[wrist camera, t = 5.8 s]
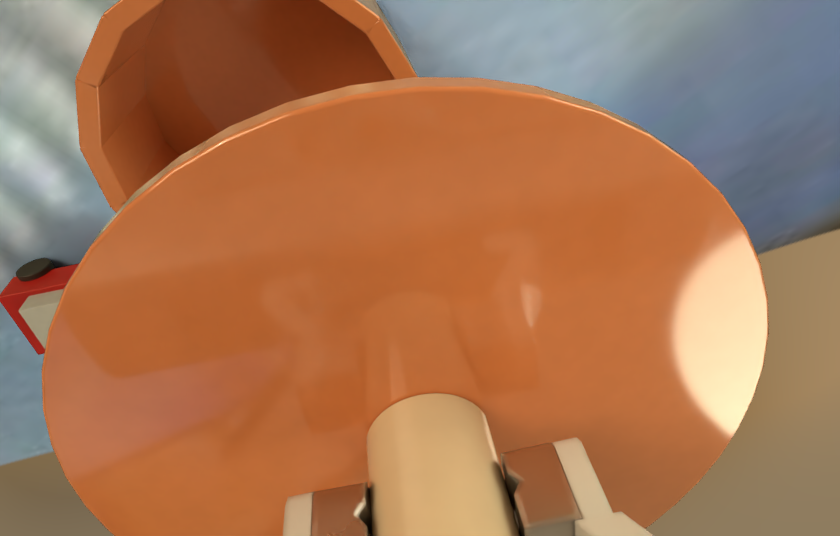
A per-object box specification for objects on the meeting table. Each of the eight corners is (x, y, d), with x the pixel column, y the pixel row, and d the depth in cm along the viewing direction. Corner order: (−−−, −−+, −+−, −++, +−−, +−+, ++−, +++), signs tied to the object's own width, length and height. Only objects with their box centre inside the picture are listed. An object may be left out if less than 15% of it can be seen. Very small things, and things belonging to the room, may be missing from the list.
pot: (192, 230, 34) (162, 309, 27) (77, -29, 26) (1, -1, 20) (423, 182, 34) (445, 249, 28) (377, -87, 26) (394, -78, 20)
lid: (216, 616, 17) (182, 830, 13) (-112, 163, 9) (-447, 373, 5) (698, 515, 17) (803, 696, 14) (799, -16, 9) (1133, 57, 5)
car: (59, 327, 36) (31, 375, 33) (16, 262, 33) (-20, 307, 30) (181, 302, 36) (167, 346, 33) (149, 235, 33) (129, 276, 30)
